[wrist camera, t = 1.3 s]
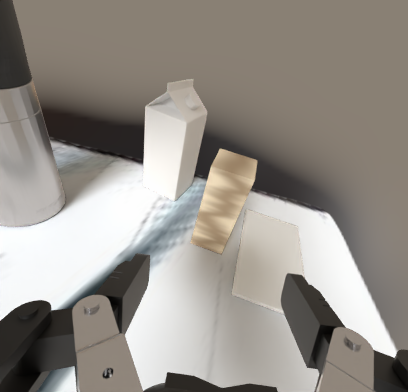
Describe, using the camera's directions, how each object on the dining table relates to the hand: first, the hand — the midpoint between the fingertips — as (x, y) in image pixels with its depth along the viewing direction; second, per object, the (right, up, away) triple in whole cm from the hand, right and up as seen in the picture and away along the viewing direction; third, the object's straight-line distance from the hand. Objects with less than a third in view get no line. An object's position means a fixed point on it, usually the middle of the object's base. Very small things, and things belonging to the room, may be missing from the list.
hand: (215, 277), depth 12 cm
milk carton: (-8, +7, +29) cm, 31 cm away
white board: (+10, -5, +21) cm, 24 cm away
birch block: (0, -2, +21) cm, 21 cm away
